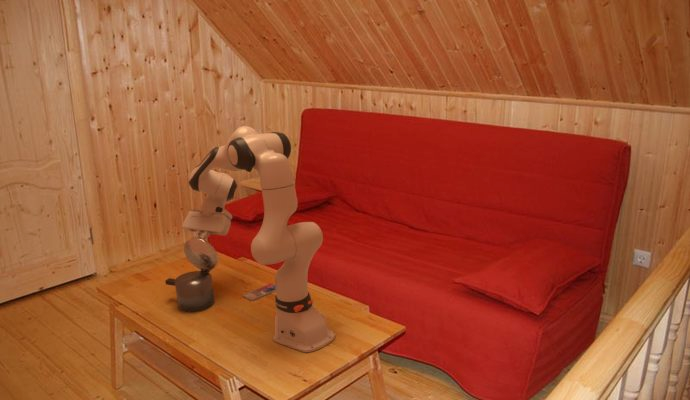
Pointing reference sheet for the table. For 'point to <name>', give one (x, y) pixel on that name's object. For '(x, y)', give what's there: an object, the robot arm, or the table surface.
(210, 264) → the lid
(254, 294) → the smartphone
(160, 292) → the table surface
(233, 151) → the robot arm
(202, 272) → the cooker pot
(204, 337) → the table surface
